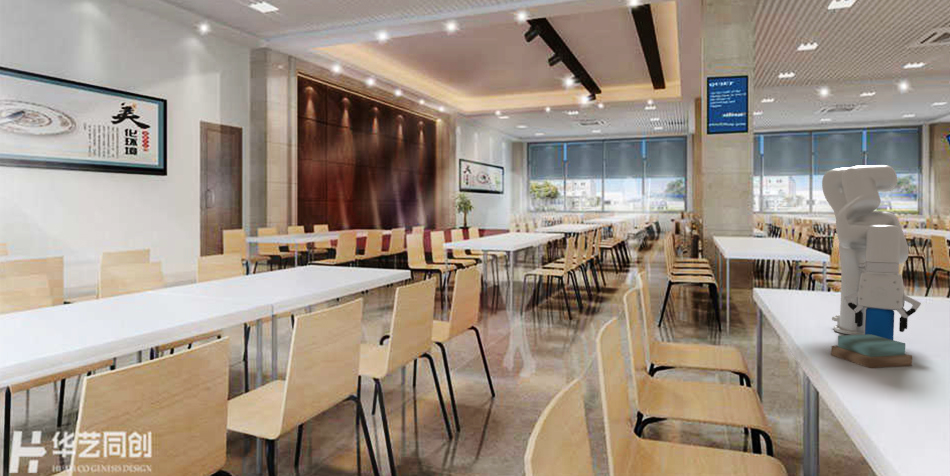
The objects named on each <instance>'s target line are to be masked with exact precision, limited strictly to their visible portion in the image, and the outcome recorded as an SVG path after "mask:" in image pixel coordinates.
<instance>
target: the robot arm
mask: <svg viewBox="0 0 950 476" xmlns="http://www.w3.org/2000/svg"><path fill="white" fill-rule="evenodd" d="M897 183H898V175H897V173H896V170H895V169H894V168H893V167H892V166H890V165H885V164H876V165H875V164H874V165H872V164H871V165H855V166H850V167H840V168H839V167H838V168H833V169H830V170H828V171H826V172H825V173H824V175H823V176H822V180H821V188H822V192H823V196H824V199H825V200H826V202H827V204H829V206H830V207H831V209H832V210H833V212H834V217H835V229H836V235H837V240H838V242H839V244H838V253H839V259H840V260H839V261H840V270H841V272H840V273H841V275H840V276H841V279H840V307H839V308H840V309H839V310H840V311H839V314H835V316H832V318H831V320H832V321H834V322H837V323H836V325H834V326H833V330H834V332H837V333H840V334H844V335H864V334H865V319H866V309H867V308H874V309H885V310H893V311H896V312H897V313H898V314H900V317H899V323H898V325H899V328H898V329H899V332H900V333H904V332H905V330H907V329H908V321H909V320H908V319H909V317H910V316H911V315H913V314H915V313H916V312H917V311H918V309H919V308H920V307H921V305H922V303H921V301H918V300H916V299H914V298H912V297H910V296H908V295H905V286H904V280H903V275H902V274H901V273H899V272H900V265H902V264H904V263H905V262H906V261H907V260H908V258H909V255H910V253H909V245H908V242H907V239H906V236H905V234H904V231H903V228H902V225H901V223H900V221H899V219H898V217H897V215H895V214H894V213H892V212H889V211H878V210H877V209H878V208H879V207H880V205H881V202H882V201H881V196H880V194H879V192H880V193H881V192H882V193H886V192H891V191H893V190H894V189H895V187H896V186H897ZM876 210H877V211H876ZM905 302H907V303H908V304H911V305H912V306H911V307H910V309H908V310H906V309H905V308H904V307H905Z"/></svg>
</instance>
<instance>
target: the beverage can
mask: <svg viewBox="0 0 950 476" xmlns="http://www.w3.org/2000/svg"><path fill="white" fill-rule="evenodd" d="M894 330H895V310H885V309H874V308H867V309H866V319H865V334H872V335H875V336H879V337H883V338H887V339H891V340H894Z"/></svg>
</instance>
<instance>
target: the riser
mask: <svg viewBox="0 0 950 476" xmlns="http://www.w3.org/2000/svg"><path fill="white" fill-rule="evenodd" d="M830 350H831V353H830V355H831V356H833V357H836V358H839V359H842V360H846V361H847V362H852V363H854V364H857V365H860V366H864V367H867V368H869V369H876V368H890V367H891V368H893V367H907V366H908V367H909V366H912V365H913V355H910V354H907V353H906V343H905V342H902V341H897V340H894V339H893V340H891V339H887V338H883V337H879V336H875V335H872V334H864V335H848V334H844V335H838V336H837V345H831V349H830Z"/></svg>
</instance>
